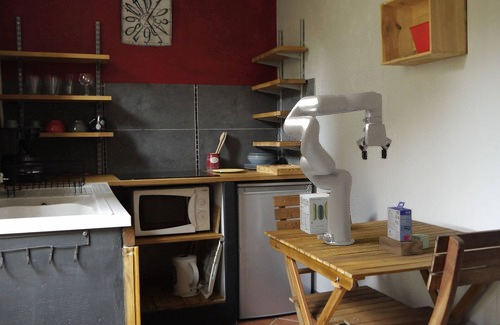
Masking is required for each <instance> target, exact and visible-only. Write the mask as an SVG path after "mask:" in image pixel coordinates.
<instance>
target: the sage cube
mask: <svg viewBox="0 0 500 325" xmlns="http://www.w3.org/2000/svg"><path fill="white" fill-rule="evenodd" d="M412 238H414V239H417V240H421V241H423V250H425V249H429V248H430V235H429V234H423V233H415V234H413V233H412Z"/></svg>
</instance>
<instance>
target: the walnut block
mask: <svg viewBox="0 0 500 325" xmlns="http://www.w3.org/2000/svg"><path fill="white" fill-rule="evenodd" d="M378 241H379V243H378V244H379V246H378V247H379V248H378V249H380V250H382V251H386V252H389V253H391V254H395V255H398V256H400V257H405V256H411V255H412V256H413V255H418V254H424V249H423V241H421V240H417V239H414V238H412V241H397V240H395V239H392V238H389V237H388V235H386V236H379V237H378Z"/></svg>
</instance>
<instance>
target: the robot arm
mask: <svg viewBox="0 0 500 325" xmlns="http://www.w3.org/2000/svg"><path fill="white" fill-rule="evenodd" d="M382 95H383V94H381V93H379V92H376V91H374V90H373V91H365V92H363V91H362V92H340V93H339V92H338V93H330V94H329V93H327V94H316V95H309V96H308V95H307V96H304V97H302V98H300V99H299V101H297V103H296V104H295V105H294V107H293V108H292V109H291V111H290V112H289V114H288V115H287V117H286V118H285V120H284V123H283V132H284V134H285V135H286V136H288V137H291V138H301V142H300V143H301V144H300V153H301V155H302V156H301V158H300V160H299V166H300V167H299V168H300V170H301V172H302V173H303V175H305V178H307V179H308V180H310V182H311V183H312V184H313V185H314V186H315V187H316V188H318V189H320V190H324V191H330V193H329V194H330V195H329V197H328V201H327V209H328V232H326V233H323V234H316V237H317V240H324V244H328V245H329V246H330V245H331V246H348V245H353V244H355V238H353V237H351V236H352V233H351V232H352V231H351V190H352V184H353V178H352V174H351V173H350V171H348V170H347V169H345V168H338V167H337V166H336V165H337V164H336V161H335V159H334V158H333V157H332V156H331V154H330V153H329V152H328V151H327V150H326V149H325V148H324V147H323V146H322V144H321V142H320V131H321V130H320V129H321V127H320V126H321V125H320V123H319V120H318V119H317V118H316V117H323V116H330V115H338V114H347V113H353V112H359V111H364V118H363V119H362V122H363V123H364V124H363V129H362V135H361V138H359V139H357V140H356V141H355V143H356V145H357V147H358V148H359V150H360V151H361V158H362V160H363V161H366V160H368V151H367V149H368V148H369V147H380V148H381V151H380V153H381V159H382V160H383V159H385V160H387V156H388V150H389V147H391V144H392V142H393V139H391V138H389V137H387V131H386V126H385V123H383V96H382Z"/></svg>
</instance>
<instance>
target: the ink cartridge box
mask: <svg viewBox="0 0 500 325" xmlns="http://www.w3.org/2000/svg"><path fill="white" fill-rule="evenodd" d="M401 204H402V205H401ZM404 206H405V202H403V201H399V203H398V204H397V206H389V207H387V236H388V237H389V238H392V239H395V240H397V241H412V235H413V226H412V224H413V223H412V221H413V220H412V219H413V218H412V216H413V215H412V212H413V211H412V210H413V209H411V208H407V207H404Z"/></svg>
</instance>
